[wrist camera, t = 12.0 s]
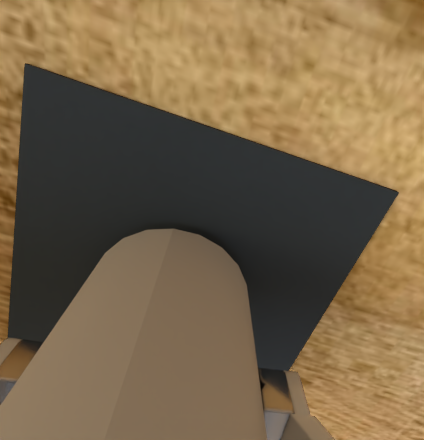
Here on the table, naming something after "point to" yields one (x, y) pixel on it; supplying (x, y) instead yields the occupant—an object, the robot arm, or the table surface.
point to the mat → (177, 209)
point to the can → (146, 351)
